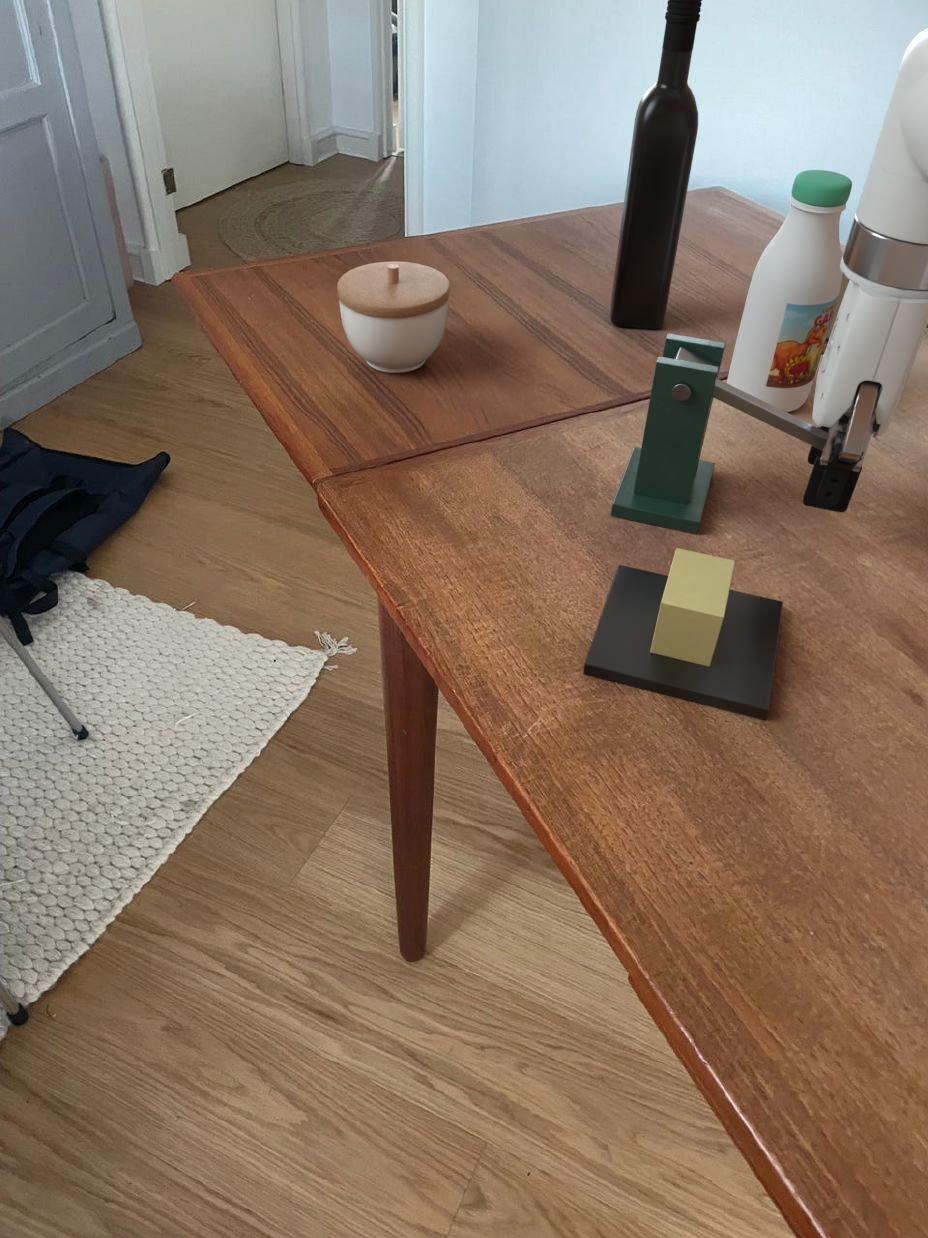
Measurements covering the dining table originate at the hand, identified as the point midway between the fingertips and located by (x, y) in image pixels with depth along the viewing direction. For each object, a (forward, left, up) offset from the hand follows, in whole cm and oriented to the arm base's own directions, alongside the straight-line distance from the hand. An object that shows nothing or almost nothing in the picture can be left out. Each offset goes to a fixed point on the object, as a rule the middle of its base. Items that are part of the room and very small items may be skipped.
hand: (826, 483), depth 72 cm
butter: (+8, +17, -3) cm, 19 cm away
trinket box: (+42, -14, -4) cm, 44 cm away
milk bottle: (+6, -20, -4) cm, 21 cm away
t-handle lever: (+6, 0, +4) cm, 8 cm away
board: (+8, +17, -4) cm, 19 cm away
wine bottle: (+21, -32, -4) cm, 38 cm away
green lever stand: (+12, 0, -4) cm, 13 cm away
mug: (+2, -38, -4) cm, 38 cm away
